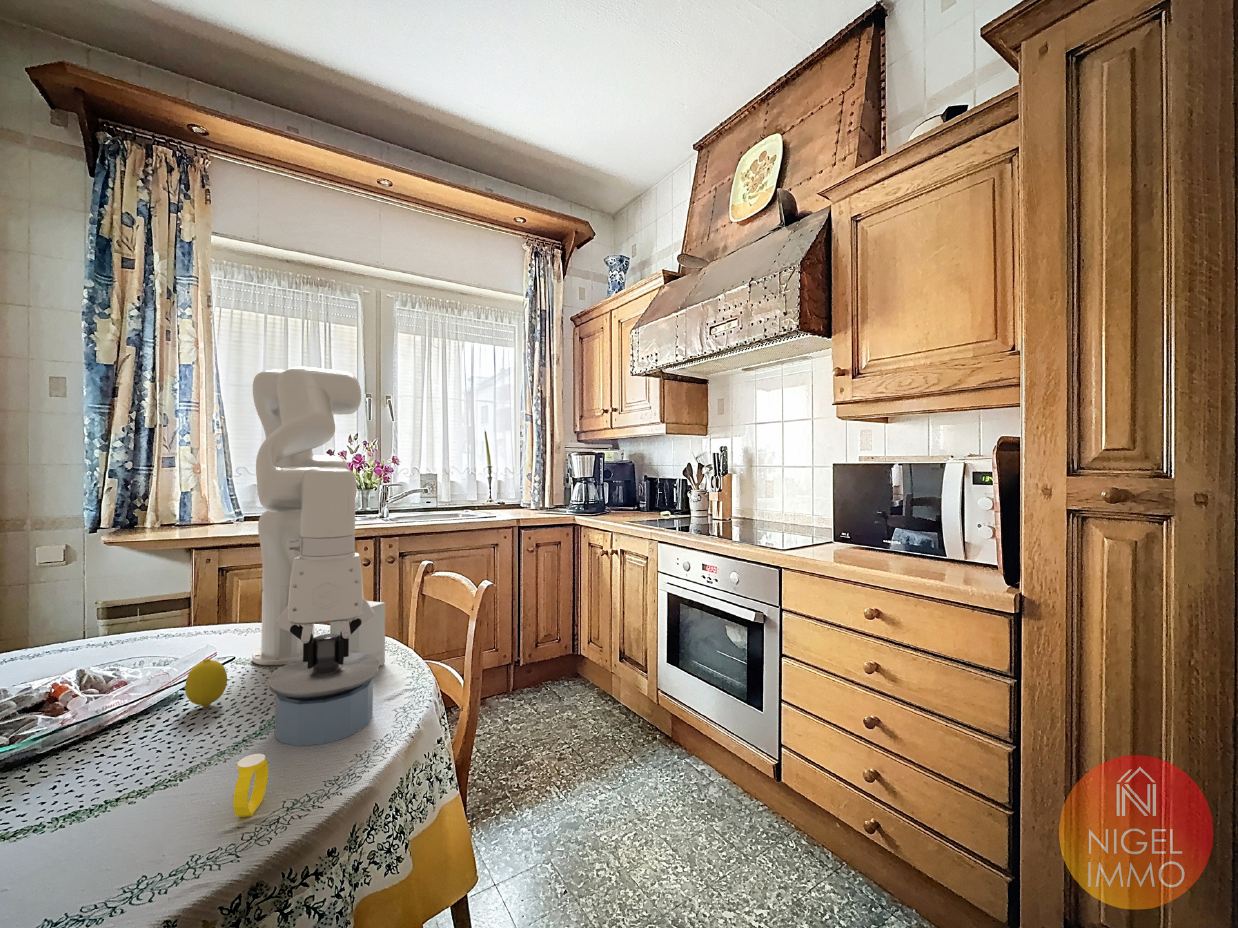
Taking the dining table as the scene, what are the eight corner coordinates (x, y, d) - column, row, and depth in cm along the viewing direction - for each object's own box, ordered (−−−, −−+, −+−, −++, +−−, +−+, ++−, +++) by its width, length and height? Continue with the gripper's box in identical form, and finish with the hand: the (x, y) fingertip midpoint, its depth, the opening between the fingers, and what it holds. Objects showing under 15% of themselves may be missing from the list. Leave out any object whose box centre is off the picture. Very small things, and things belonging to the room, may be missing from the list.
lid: (290, 662, 90) (291, 625, 90) (386, 656, 93) (387, 621, 93) (250, 701, 75) (251, 657, 75) (366, 692, 79) (367, 650, 79)
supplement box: (386, 663, 110) (387, 602, 110) (357, 677, 103) (358, 611, 103) (357, 659, 112) (358, 598, 112) (327, 671, 105) (329, 607, 105)
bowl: (294, 708, 89) (295, 672, 89) (378, 702, 92) (379, 667, 92) (261, 749, 77) (261, 707, 77) (359, 740, 79) (360, 699, 79)
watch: (254, 825, 61) (253, 775, 61) (226, 828, 60) (225, 778, 60) (274, 790, 67) (274, 744, 67) (249, 793, 66) (249, 746, 66)
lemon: (204, 716, 86) (204, 666, 86) (176, 712, 87) (176, 663, 87) (235, 701, 92) (235, 654, 92) (208, 698, 93) (209, 651, 93)
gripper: (261, 553, 78) (259, 680, 77) (386, 547, 85) (384, 664, 85) (269, 546, 84) (267, 663, 84) (384, 541, 91) (382, 649, 91)
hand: (326, 662), depth 84 cm, fingers closed on lid, 3 cm apart
